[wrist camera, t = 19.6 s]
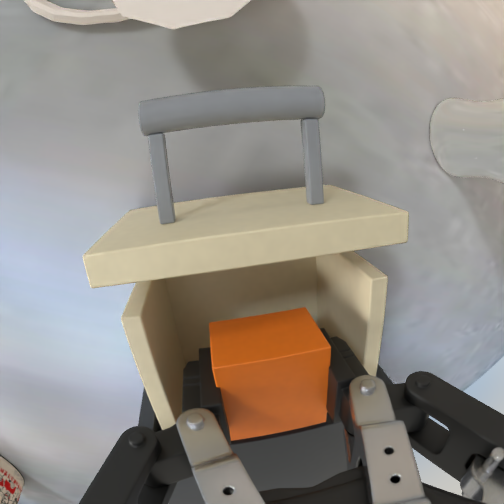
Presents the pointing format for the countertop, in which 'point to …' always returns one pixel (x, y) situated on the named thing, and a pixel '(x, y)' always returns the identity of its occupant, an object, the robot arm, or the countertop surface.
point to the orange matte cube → (271, 372)
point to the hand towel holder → (144, 12)
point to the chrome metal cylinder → (469, 138)
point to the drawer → (242, 247)
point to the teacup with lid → (9, 483)
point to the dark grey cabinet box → (275, 455)
